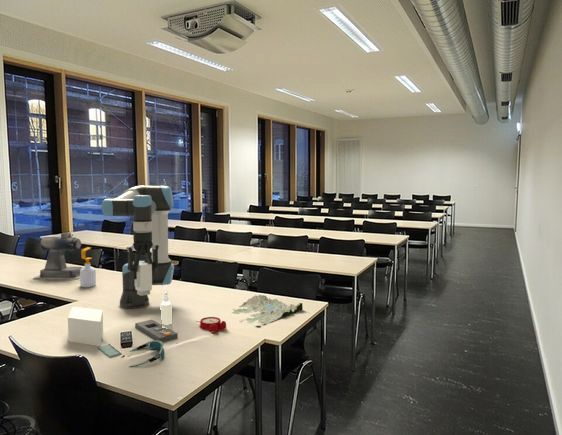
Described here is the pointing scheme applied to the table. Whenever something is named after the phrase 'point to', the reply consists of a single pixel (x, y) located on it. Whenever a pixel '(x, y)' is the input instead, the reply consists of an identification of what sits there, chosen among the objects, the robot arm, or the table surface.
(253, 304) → the topographic map model
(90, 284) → the soap bottle
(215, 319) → the alarm clock
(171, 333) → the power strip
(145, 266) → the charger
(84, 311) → the white rectangular block
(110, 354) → the felt mat
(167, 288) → the table surface
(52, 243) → the grinder
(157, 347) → the sunglasses
